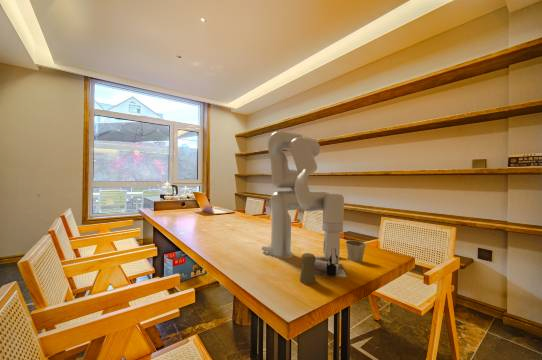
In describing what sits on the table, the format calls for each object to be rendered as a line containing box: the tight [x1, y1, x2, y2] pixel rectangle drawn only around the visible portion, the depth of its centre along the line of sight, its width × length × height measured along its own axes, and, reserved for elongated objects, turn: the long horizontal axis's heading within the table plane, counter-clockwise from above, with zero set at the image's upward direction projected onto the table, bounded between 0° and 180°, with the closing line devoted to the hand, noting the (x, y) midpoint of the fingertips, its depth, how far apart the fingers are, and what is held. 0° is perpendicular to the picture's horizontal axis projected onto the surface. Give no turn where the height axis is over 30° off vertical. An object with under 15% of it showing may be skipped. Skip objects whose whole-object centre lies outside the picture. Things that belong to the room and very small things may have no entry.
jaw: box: [314, 259, 339, 274], centre depth 96 cm, size 15×3×4 cm, turn 53°
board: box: [314, 255, 349, 278], centre depth 97 cm, size 17×14×4 cm
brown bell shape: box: [299, 252, 317, 286], centre depth 85 cm, size 6×6×11 cm
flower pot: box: [344, 239, 367, 263], centre depth 110 cm, size 9×9×9 cm
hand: (331, 274), depth 89 cm, fingers closed
